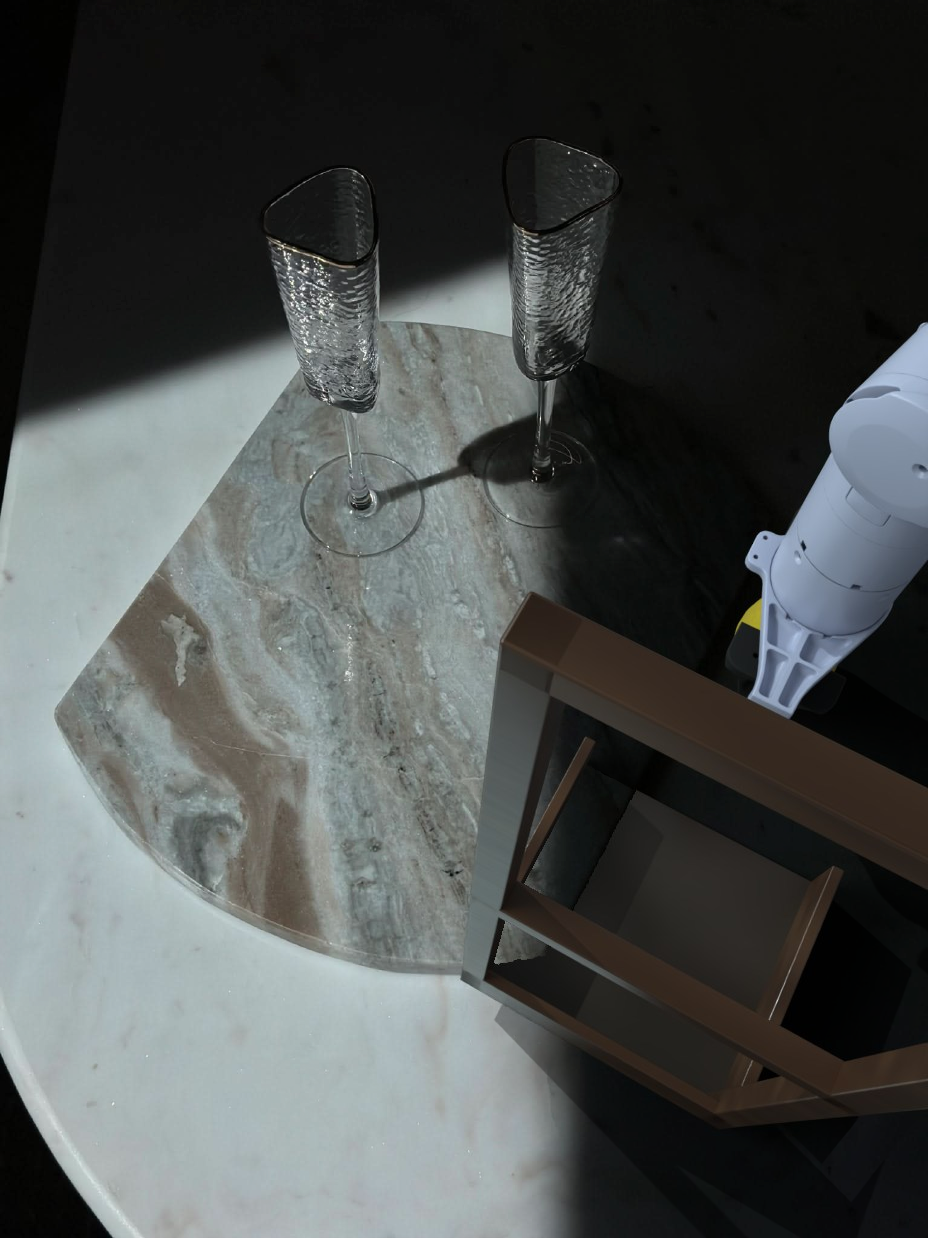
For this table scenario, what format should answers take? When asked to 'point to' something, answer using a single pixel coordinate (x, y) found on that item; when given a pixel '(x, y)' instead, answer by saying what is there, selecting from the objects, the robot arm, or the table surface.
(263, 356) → the table surface
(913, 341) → the robot arm
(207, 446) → the table surface
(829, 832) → the rack
